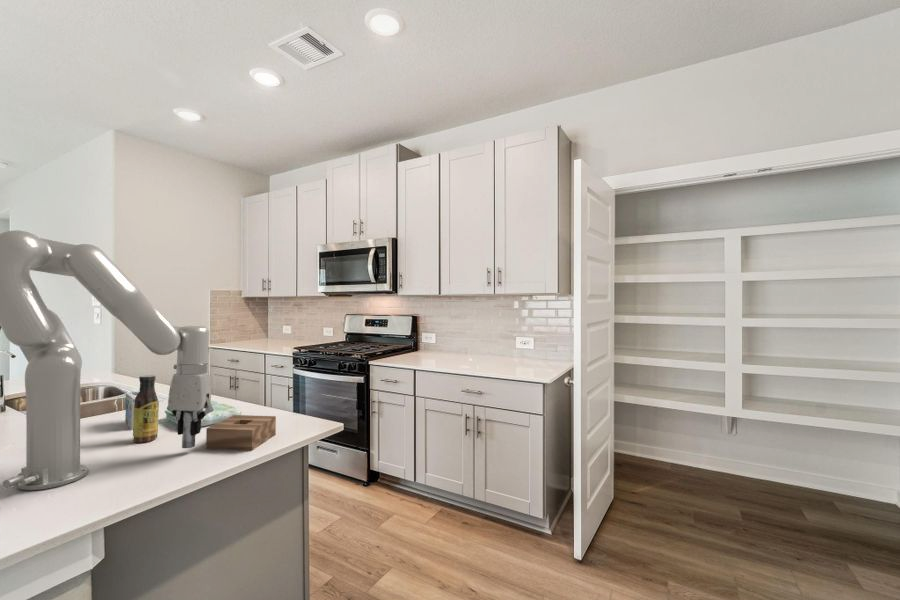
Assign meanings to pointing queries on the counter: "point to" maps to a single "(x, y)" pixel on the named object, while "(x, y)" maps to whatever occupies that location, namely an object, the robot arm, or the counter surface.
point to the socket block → (240, 432)
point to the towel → (210, 414)
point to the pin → (187, 430)
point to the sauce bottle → (146, 411)
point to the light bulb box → (130, 408)
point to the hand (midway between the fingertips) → (189, 433)
